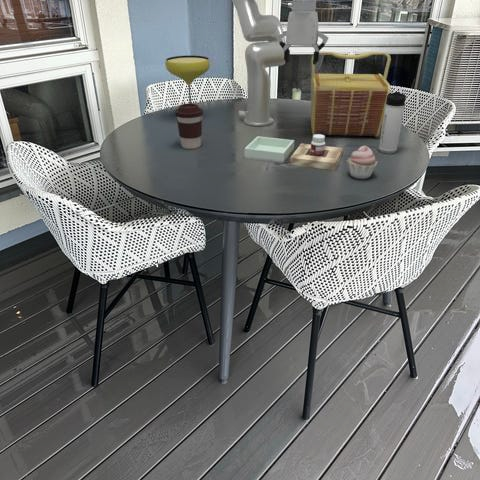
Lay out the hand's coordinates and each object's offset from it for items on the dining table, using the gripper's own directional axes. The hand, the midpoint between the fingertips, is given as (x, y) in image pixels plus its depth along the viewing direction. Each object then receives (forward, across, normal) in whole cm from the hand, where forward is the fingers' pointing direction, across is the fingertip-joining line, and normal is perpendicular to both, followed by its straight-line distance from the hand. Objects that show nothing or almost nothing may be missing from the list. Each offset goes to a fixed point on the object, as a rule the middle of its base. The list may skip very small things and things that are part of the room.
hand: (300, 63), depth 155 cm
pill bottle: (+29, +10, -13) cm, 34 cm away
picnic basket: (+29, +14, +22) cm, 39 cm away
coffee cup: (+29, -37, -15) cm, 49 cm away
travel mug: (+29, +33, +4) cm, 44 cm away
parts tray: (+29, -7, -13) cm, 32 cm away
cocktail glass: (+28, -51, +16) cm, 61 cm away
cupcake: (+29, +26, -22) cm, 45 cm away
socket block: (+29, +10, -13) cm, 33 cm away
